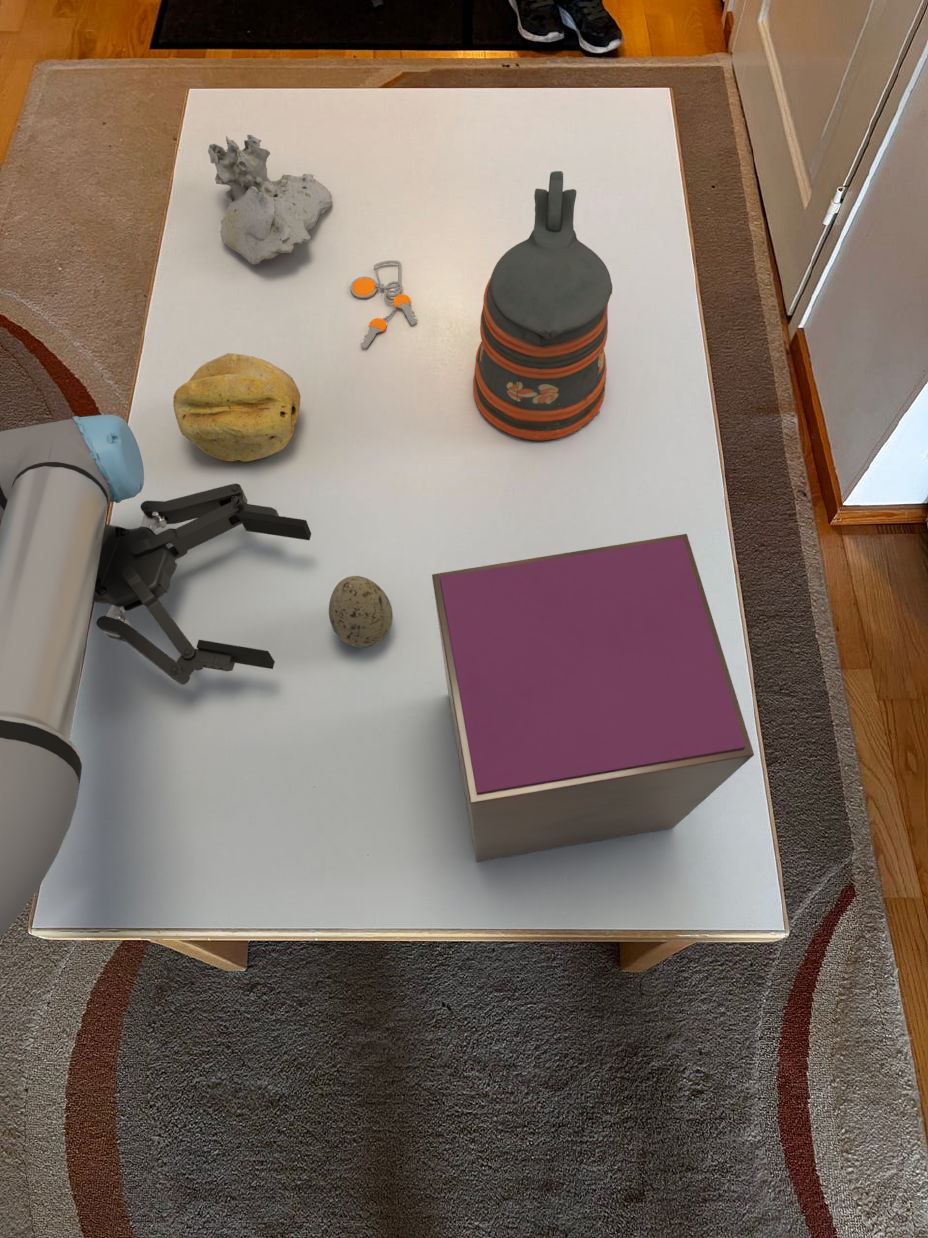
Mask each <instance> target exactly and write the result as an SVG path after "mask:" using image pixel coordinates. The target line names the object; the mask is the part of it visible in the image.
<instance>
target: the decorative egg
mask: <svg viewBox="0 0 928 1238" xmlns="http://www.w3.org/2000/svg"><path fill="white" fill-rule="evenodd" d="M328 616H329V623H330V625H331V627H332V629H333V631H334V633H335V635H336V636H337V637H338V638H339V639H340V640H341V641H342V642H343V643H345V644H347V645H349V646H351V647H355V648H369V647H373V646H375V645H377V644H378V643H380V642H381V641H383V640H384V639H385V638H386V636H387V635H388V634H389V632H390V630H391V628H392V624H393V617H394V616H393V608H392V604H391V601H390V599H389V597H388V596H387V594H386V592H385V591H384V590H383V589H382V588H381V587H380V585H378V584H377V583H376V582H374V581H372V580H371V579H369V578H367V577H364V576H361V575H350V576H346V577H345V578H343V579H341V580H340V581H339V582H337V584H336V586H335V587H334V589H333V590H332V593H331V596H330V599H329V603H328Z"/></svg>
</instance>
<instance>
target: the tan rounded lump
mask: <svg viewBox="0 0 928 1238" xmlns="http://www.w3.org/2000/svg"><path fill="white" fill-rule="evenodd" d="M172 399H173V403H172V404H173V405H172V406H173V412H174V415H175V418H176V422H177V424H178V429H179V431H180V433H181V435H182V436H184V437H185V438H187V440H189V441H190V442H191V443H193V444H194V445H195V446H196V447H197V448H199V449H200V450H201V451H202V452H203V453H205V454H206V455H209V456H211V457H212V458H215V459H216V460H221V461H225V462H234V461H240V462H244V463H246V462H252V461H255V460H260V459H263V458H266V457H269V456H271V455H274V454H276V453H278V452H280V451H282V450H283V449H284V448H285V447H286V446H287V445H288V444H289V442H290V440H291V439H292V437H293V435H294V432H295V431H294V427H295V424H296V422H297V420H298V415H299V413H300V407H301V393H300V390H299V388H298V385H297V383H296V381H295V380H294V378H293V377H292V376H291V375H290V374H289V373H287V372H286V371H285V370H284V369H282V368H280V367H278V366H276V365H275V364H273V363H271V362H270V361H267V360H265V359H262V358H258V357H255V356H251V355H247V354H240V353H233V352H228V353H226V354H223V355H221V356H218V357H217V358H214V359H211V360H210V361H207V362H205V363H204V364H202V365H200V366H199V368H198V369H197V370H196V371H195V372H194V373H193V374H192V376H191V377H190V378H189V379H188V381H186V382H185V383H183V384H181V385H180V386H179V387H178V388H177V389H176V390H175V392H174V395H173V398H172Z"/></svg>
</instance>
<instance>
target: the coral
mask: <svg viewBox="0 0 928 1238" xmlns="http://www.w3.org/2000/svg"><path fill="white" fill-rule="evenodd" d="M246 135H247V136H246V138H247V139H244V143H243V144H244V148H243V149H240V147H239V146H238V144H237V143H236V141H235V140H234V139H230V138H229V137H228V136H227V135H225V141H226V145H227V149H225V148H224V147H223V146H221V145H219V144H216V143H213V144H209V145H208V150H207V153H208V155H209V159H210V163H211V164H214V166H215V168H216V175H215V177H214V181H215V184H216V185H221V186H222V185H224V186H229V187H230V189H229V190H227V191H225V193H224V196H225V198H226V199H230V201H231V202H230V203H229V204H228V207H227V210H226V213H225V214H224V216H223V218H222V219H221V221H220V225H221V226H220V231H219V235H220V238H221V242H223V243H224V244H225V245H226V246H228V247H229V248H230V249H232V250H233V251H234V252H236V253H238V254H239V255H241V256H242V257H243V258H245V259H246V261H248V262H249V263H250V264H251V265H259V264H260V263H261V262H262V261H263V260H272V259H274V258H275V257H277V256H278V255H280V254H291V253H292V252H293V250H294V248H295V246H294V245H295V244H302V243H303V242H305V243H306V242H309V241H310V240H311V239H312V237H311V236H310V234H309V232H308V231H311V230H312V229H313V228H314V227H315V225H316V224H317V221H318V220H319V217H320V216H322V215H323V214H324V213H325V212H326V211H327V210H328V209H329V208H330V206H331V205H332V203H333V196H332V193H331V190H329V189H328V188H327V187H326V186H325V185H324V184H323V183H321V182H319V180H317V179H316V178H314V176H315V175H314V174H312V173H303V174H302V175H301V176H296V175H292V174H284V173H283V174H282V175H281V177H280V179H278V180H271V179H269V177H268V167H267V161H268V158H269V156H270V155H271V152H270V151H269V150H268V149H267V148H266V149H265V148H263V147H261V142H262V140H261V139H259V138H258V137H256V136H254V135H253V134H246Z"/></svg>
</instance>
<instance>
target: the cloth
mask: <svg viewBox="0 0 928 1238" xmlns="http://www.w3.org/2000/svg"><path fill="white" fill-rule="evenodd" d="M440 582H441V588H442V593H443V599H444V605H445V611H446V617H447V623H448V628H449V634H450V640H451V646H452V652H453V658H454V663H455V669H456V675H457V681H458V687H459V693H460V698H461V704H462V710H463V716H464V722H465V728H466V733H467V739H468V745H469V751H470V757H471V763H472V769H473V774H474V780H475V786H476V792H477V794H481V793H487V792H493V791H499V790H504V789H510V788H516V787H522V786H528V785H534V784H540V783H545V782H551V781H557V780H563V779H569V778H575V777H581V776H586V775H592V774H598V773H604V772H610V771H616V770H622V769H628V768H633V767H639V766H645V765H651V764H657V763H663V762H669V761H674V760H680V759H686V758H692V757H698V756H704V755H710V754H715V753H721V752H727V751H733V750H739V749H744V748H745V747H746V745H745V742H744V738H743V735H742V732H741V729H740V725H739V722H738V719H737V715H736V712H735V709H734V705H733V702H732V699H731V695H730V692H729V689H728V686H727V682H726V679H725V676H724V672H723V669H722V666H721V662H720V659H719V656H718V652H717V649H716V646H715V642H714V639H713V636H712V633H711V629H710V626H709V623H708V619H707V616H706V613H705V609H704V606H703V603H702V599H701V596H700V593H699V590H698V586H697V583H696V580H695V576H694V573H693V570H692V566H691V563H690V560H689V556H688V553H687V550H686V547H685V543H684V540H683V538H680V539H674V540H668V541H661V542H655V543H649V544H643V545H636V546H630V547H624V548H618V549H611V550H605V551H599V552H593V553H587V554H580V555H574V556H568V557H562V558H555V559H549V560H543V561H537V562H530V563H524V564H518V565H512V566H505V567H499V568H493V569H487V570H480V571H474V572H468V573H462V574H455V575H449V576H443V577H440Z"/></svg>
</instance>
